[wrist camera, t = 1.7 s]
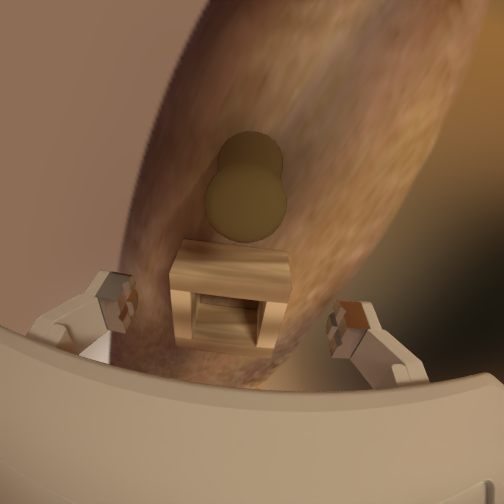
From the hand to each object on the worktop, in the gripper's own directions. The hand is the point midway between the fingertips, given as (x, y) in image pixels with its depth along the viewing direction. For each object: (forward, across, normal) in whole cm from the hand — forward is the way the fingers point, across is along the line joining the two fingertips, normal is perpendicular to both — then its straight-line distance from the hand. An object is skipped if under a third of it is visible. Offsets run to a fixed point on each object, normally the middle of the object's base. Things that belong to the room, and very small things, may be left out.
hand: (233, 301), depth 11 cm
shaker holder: (+18, 0, +14) cm, 23 cm away
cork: (+18, 0, -1) cm, 18 cm away
